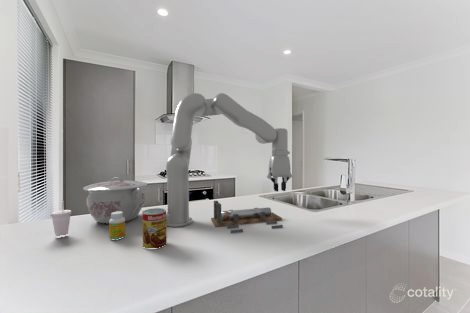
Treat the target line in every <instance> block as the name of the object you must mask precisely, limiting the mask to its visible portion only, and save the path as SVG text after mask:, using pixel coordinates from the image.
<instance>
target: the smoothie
mask: <svg viewBox="0 0 470 313" xmlns="http://www.w3.org/2000/svg"><path fill="white" fill-rule="evenodd" d="M64 202H65V201H64V200H61V209H59V210H55V211H53V212H51V213H50V217H51V220H52V224H53V230H54V236H55V235H56V236H60V235H66V234H68V235H69V230H70V220H71V214H72V210H71V209H64V208H65V207H64V204H65V203H64ZM56 236H55V237H56Z"/></svg>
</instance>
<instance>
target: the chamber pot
mask: <svg viewBox="0 0 470 313" xmlns="http://www.w3.org/2000/svg"><path fill="white" fill-rule="evenodd" d="M147 185H148V183H147V182H143V181H141V180H140V181H139V180H129V179H127V180H123V179H122V178H121V177H119V176H118V177H117V176H114V177H113V178H111V180H109V181H102V182H96V183H92V184H89V185H86V186H84V187H82V190H83V191H87V192H88V195H87V197H86V206H87V210H88V212H89V214H90V216H91V217H92V218H93V219H94V220H95V221H96V222H97V223H99V224H104V223H106V224H105V225H109V224H108V223H109V220H110V219H111V218H112V217H111V213H113V212H117V211H121V212H123V216H122V217H124V218H125V221H127V222H129V221H132V220H133V219H135V218H137V217H138V216H139V214H140V212H141V211H142V210H143V207H144V204H145V201H146V193H145V191H144V190H143V188H145V187H146V186H147Z"/></svg>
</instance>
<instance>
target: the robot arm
mask: <svg viewBox="0 0 470 313" xmlns="http://www.w3.org/2000/svg"><path fill="white" fill-rule="evenodd" d="M219 115H222V116H224V117H225V118H227V119H228V120H229V121H230V122H232V123H233V124H235V125H236V126H238V127H241V128H244V129H246V130H249V131H251V132H252V133H253V134H254V135H255V140H256V142H258V143H259V144H263V145H264V144H271V156H270V158H269V163H268V174H267V176H266V178H267V179H269V180H271V182H272V183H273V190H274V192H277V193H278V192H279V183H278V178H281V183H280V188H281V191H283V192H286V190H287V183H288V181H289V180H290V179H291V178H293V173H292V172H291V161H290V157H289V155H290V153H291V151H289V149H288V142H289V141H288V139H289V138H288V129H286V128H285V127H284V128H278V127H277V128H274V127H273V126H272V125H271V124H269V123H268V122H267V121H266V120H264V119H263V118H261V117H260V116H258V115H257V114H254V113H253V112H250V111H249V110H247V109H246V108H244V107H243V106H242V105H241V104H239V103H238V102H237V101H236V100H234V99H233V98H232V97H231V96H229V95H227V94H226V93H224V92H220V93H218V94H216V95H215V96H214V98H206V97H205V96H204V95H202V94H201V93H198V92H197V93H196V92H195V93H191V94H188V95H186V96H183V97H182V99H181V100H180V101H179V103H178V105H177V107H176V109H175V113H174V118H173V123H172V124H173V125H172V131H171V137H170V145H171V149H170V150H171V151H170V156H169V157H168V159H167V161H166V164H165V165H166V166H165V167H166V168H165V169H166V187H167V189H166V192H167V195H166V196H167V199H166V200H167V211H166V227H171V228H175V227H176V228H177V227H186V226H189V225H191V224H192V223H193V218H191V217H190V206H189V205H190V201H189V200H190V190H189V188H190V187H189V184H190V182H189V178H190V177H189V167H190V160H191V152H192V151H191V150H192V145H193V139H192V132H193V131H192V130H193V125H194V118H195V117H210V116H211V117H212V116H219Z"/></svg>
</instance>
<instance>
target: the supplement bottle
mask: <svg viewBox="0 0 470 313" xmlns="http://www.w3.org/2000/svg"><path fill="white" fill-rule="evenodd" d="M122 216H123V212H121V211H117V212H113V213H111V217H112V218H111V219H110V220H109V224H108V229H109V231H108V234H109V235H108V237H109V238H110V239H119V238H122V237H124V236H125V237H126V222H125V218H124V217H122ZM109 238H108V239H109ZM110 239H109V240H110Z"/></svg>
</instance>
